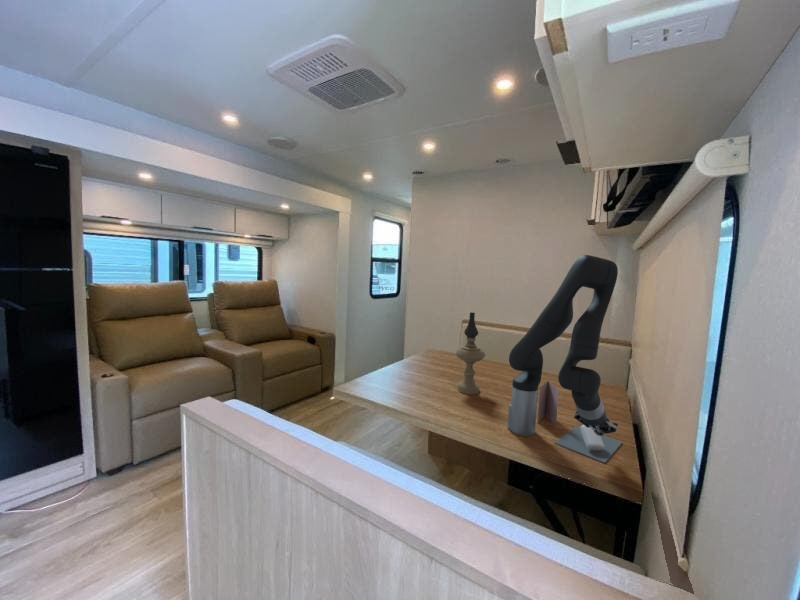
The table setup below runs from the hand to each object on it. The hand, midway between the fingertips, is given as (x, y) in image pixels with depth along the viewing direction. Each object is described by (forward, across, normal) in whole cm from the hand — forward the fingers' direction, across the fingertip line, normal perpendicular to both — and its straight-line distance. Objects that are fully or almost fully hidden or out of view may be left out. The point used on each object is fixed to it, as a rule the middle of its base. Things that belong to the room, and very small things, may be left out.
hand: (599, 433), depth 113 cm
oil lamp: (+15, +64, -4) cm, 66 cm away
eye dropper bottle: (+4, 0, +4) cm, 6 cm away
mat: (+9, +4, +2) cm, 10 cm away
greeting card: (+14, +22, -3) cm, 26 cm away
